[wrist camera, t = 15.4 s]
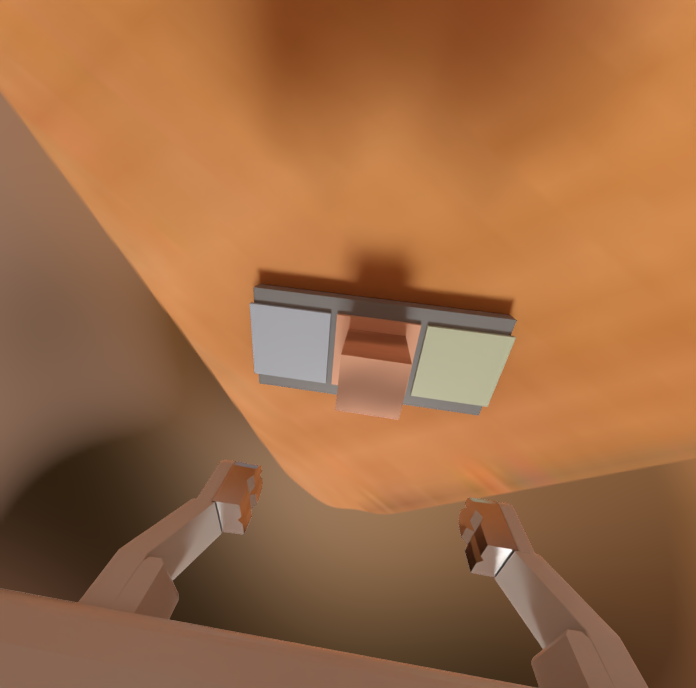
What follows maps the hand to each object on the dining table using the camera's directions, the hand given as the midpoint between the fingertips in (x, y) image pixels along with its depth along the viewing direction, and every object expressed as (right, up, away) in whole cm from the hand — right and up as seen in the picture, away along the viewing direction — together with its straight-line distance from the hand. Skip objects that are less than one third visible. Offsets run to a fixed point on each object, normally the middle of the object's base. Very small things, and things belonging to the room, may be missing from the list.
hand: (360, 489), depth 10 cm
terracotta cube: (+2, +5, +11) cm, 12 cm away
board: (+2, +5, +13) cm, 14 cm away
